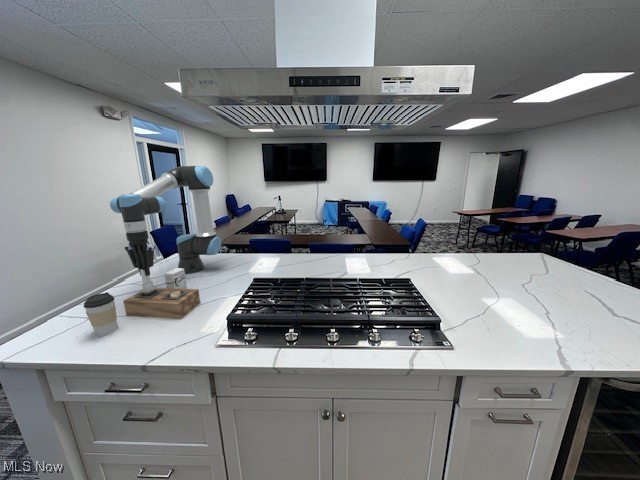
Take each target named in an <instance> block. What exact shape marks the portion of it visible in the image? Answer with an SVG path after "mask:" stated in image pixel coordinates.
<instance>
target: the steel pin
mask: <svg viewBox="0 0 640 480" xmlns="http://www.w3.org/2000/svg"><path fill="white" fill-rule="evenodd" d="M141 286H142V290H143V292H144V296H151V295H153V294H154V293H155V292H154V287H155V286H154V283H153V281H150V282H148V283H143V282H142V283H141Z"/></svg>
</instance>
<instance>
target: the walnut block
mask: <svg viewBox="0 0 640 480" xmlns="http://www.w3.org/2000/svg"><path fill="white" fill-rule="evenodd" d="M153 287H154V292H155V293H154V294H153V295H151V296H144V292H143V289H142V290H140V291H138V292H137V293H135V294H133V295H131V296H129V297H128V298H125V299H124V300H122V301H123V305H124V307H123V308H124V311H125V315H126V316H130V317H133V316H134V317H146V318H147V317H149V318H166V319H183V318H184V317H185V316H187V314H189V313H190V312H191V311H192V310H193V309H195V308H196V307H197V306H198V305H199V304H200V303H201V298H200V297H201V296H200V290H199V288H187V289H184V288H167V287H159V286H156V287H155V286H153ZM175 291H180V293H181V295H180V296H178V297H171V296H170V293H172V292H175Z"/></svg>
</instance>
